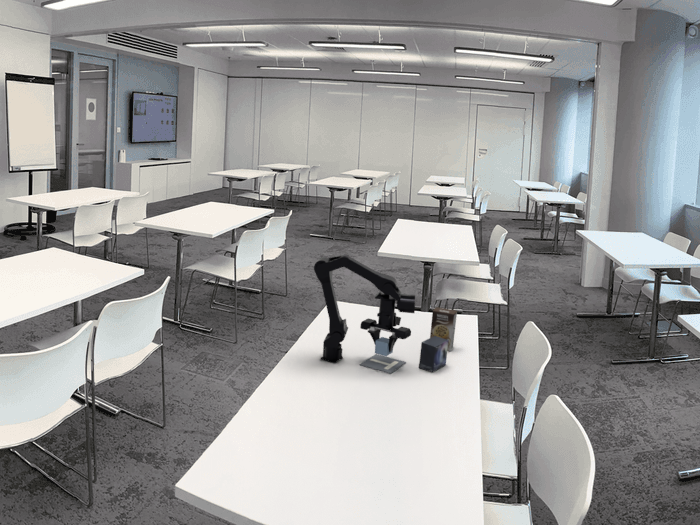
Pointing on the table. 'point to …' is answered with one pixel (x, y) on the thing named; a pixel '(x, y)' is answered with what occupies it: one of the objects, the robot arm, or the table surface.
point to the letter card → (383, 363)
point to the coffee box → (444, 325)
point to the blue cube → (382, 346)
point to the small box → (433, 353)
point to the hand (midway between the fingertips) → (383, 350)
